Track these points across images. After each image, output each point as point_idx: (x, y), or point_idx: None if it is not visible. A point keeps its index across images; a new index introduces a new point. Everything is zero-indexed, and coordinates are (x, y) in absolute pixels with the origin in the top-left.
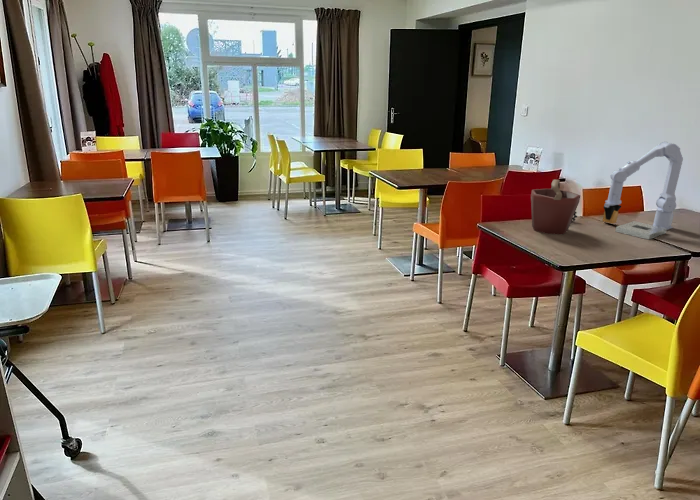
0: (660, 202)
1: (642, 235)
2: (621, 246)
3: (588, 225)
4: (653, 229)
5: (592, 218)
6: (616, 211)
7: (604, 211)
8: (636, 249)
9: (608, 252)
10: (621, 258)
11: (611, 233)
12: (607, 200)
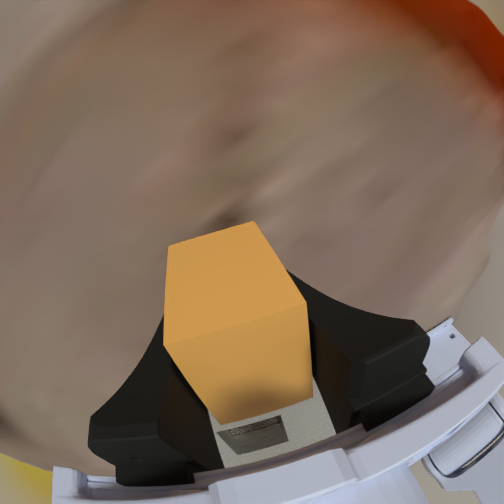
0: (467, 443)
1: None
2: (47, 452)
3: (3, 265)
4: (279, 447)
5: (244, 46)
6: (292, 397)
7: (164, 331)
8: (78, 466)
9: (6, 445)
10: (23, 460)
11: (73, 405)
12: (341, 488)
